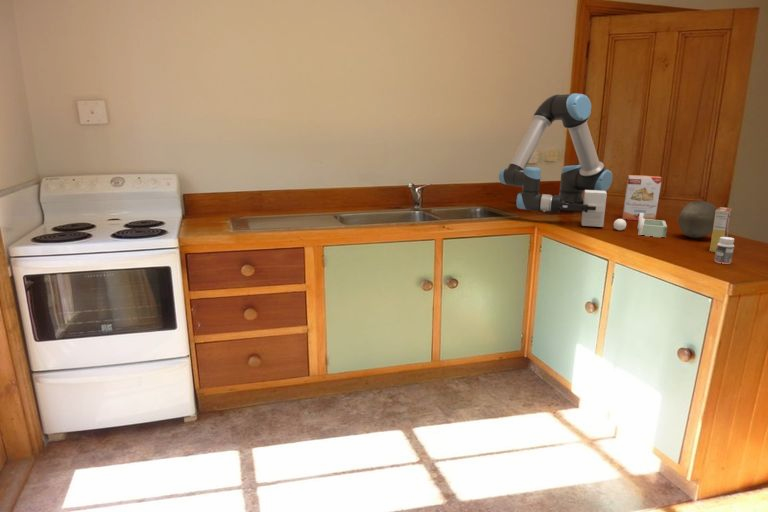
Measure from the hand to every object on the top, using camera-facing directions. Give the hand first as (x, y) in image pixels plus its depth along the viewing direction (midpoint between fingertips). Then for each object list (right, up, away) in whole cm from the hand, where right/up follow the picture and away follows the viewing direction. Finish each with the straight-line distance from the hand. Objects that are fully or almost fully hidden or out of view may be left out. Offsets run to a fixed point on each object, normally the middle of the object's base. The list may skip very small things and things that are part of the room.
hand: (604, 207), depth 221 cm
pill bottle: (+16, -24, -52) cm, 60 cm away
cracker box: (+25, -4, +21) cm, 33 cm away
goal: (+16, -12, -8) cm, 21 cm away
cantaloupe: (+29, -14, -17) cm, 37 cm away
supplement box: (-4, -8, +4) cm, 10 cm away
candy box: (+25, -19, -36) cm, 48 cm away
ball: (+5, -8, -4) cm, 10 cm away
